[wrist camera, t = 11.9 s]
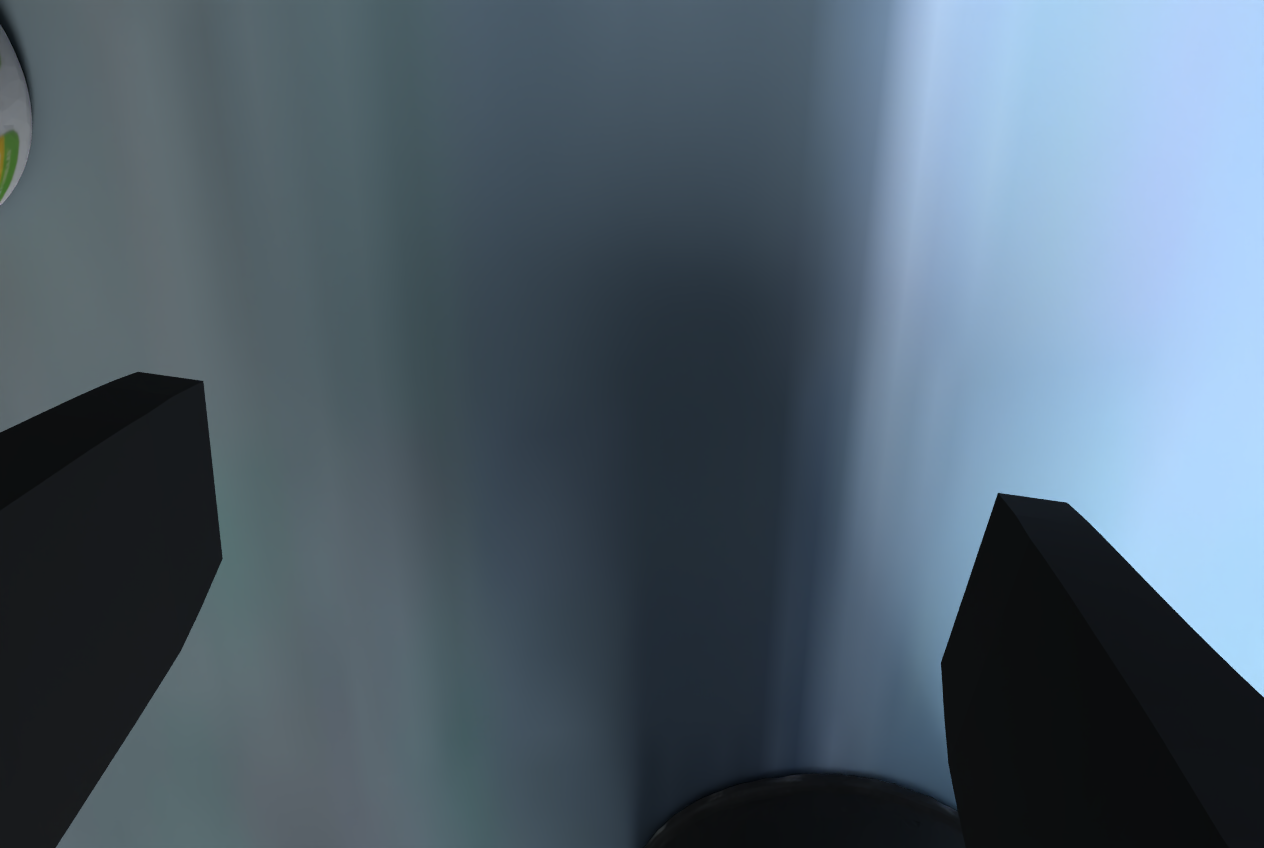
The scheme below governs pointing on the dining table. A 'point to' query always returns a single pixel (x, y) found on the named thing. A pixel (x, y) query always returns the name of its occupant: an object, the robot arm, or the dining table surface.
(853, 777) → the milk frother
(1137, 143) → the dining table surface
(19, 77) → the supplement bottle
